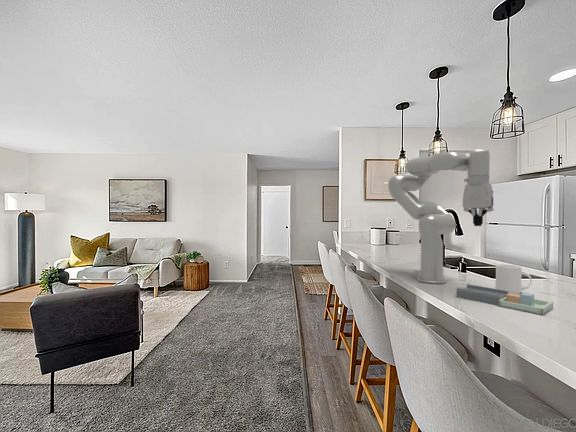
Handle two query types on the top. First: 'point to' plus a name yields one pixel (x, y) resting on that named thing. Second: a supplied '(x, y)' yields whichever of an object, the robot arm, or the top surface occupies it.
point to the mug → (510, 278)
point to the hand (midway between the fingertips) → (477, 225)
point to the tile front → (527, 299)
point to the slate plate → (481, 294)
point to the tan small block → (513, 298)
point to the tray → (538, 308)
